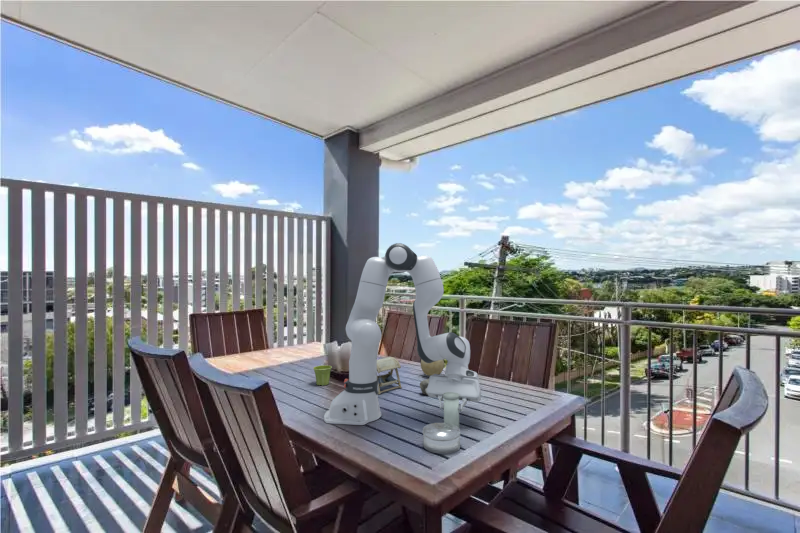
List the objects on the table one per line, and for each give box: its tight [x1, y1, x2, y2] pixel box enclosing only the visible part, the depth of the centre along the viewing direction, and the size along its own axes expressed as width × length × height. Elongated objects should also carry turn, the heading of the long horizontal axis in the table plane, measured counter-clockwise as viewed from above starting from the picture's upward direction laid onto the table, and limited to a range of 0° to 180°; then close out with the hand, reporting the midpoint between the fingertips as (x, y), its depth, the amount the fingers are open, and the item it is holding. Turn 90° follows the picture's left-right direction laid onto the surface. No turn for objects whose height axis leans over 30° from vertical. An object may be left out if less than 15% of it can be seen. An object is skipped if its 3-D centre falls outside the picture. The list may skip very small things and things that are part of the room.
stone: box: [419, 377, 429, 396], centre depth 177 cm, size 14×8×10 cm, turn 135°
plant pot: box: [312, 364, 333, 387], centre depth 193 cm, size 9×9×9 cm
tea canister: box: [443, 392, 460, 428], centre depth 137 cm, size 6×6×12 cm
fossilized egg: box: [420, 358, 445, 378], centre depth 205 cm, size 13×13×15 cm
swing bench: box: [377, 356, 402, 396], centre depth 183 cm, size 15×10×15 cm, turn 134°
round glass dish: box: [422, 422, 462, 455], centre depth 122 cm, size 12×12×5 cm
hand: (450, 409), depth 136 cm, fingers closed on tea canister, 5 cm apart
